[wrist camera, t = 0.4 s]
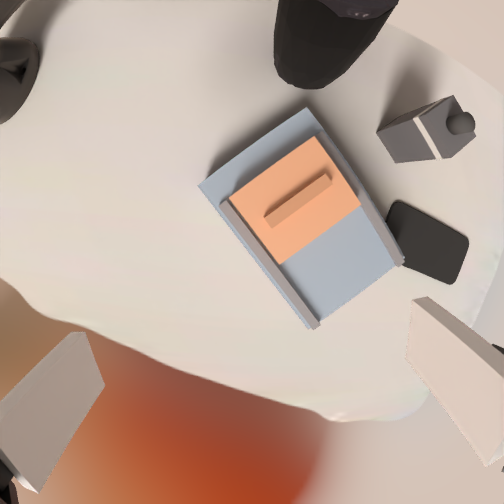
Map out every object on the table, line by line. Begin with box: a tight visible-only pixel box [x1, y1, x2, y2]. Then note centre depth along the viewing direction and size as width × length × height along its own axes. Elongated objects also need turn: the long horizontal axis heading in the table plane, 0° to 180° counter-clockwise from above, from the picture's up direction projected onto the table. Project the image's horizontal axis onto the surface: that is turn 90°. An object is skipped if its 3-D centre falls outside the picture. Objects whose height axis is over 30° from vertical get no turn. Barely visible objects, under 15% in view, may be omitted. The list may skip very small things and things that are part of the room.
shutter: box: [229, 136, 361, 265], centre depth 28 cm, size 8×10×4 cm
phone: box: [385, 202, 469, 285], centre depth 35 cm, size 7×1×15 cm
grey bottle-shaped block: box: [376, 95, 476, 163], centre depth 25 cm, size 5×5×14 cm
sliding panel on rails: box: [198, 107, 405, 330], centre depth 32 cm, size 20×14×5 cm
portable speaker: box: [274, 0, 399, 89], centre depth 21 cm, size 9×9×20 cm
